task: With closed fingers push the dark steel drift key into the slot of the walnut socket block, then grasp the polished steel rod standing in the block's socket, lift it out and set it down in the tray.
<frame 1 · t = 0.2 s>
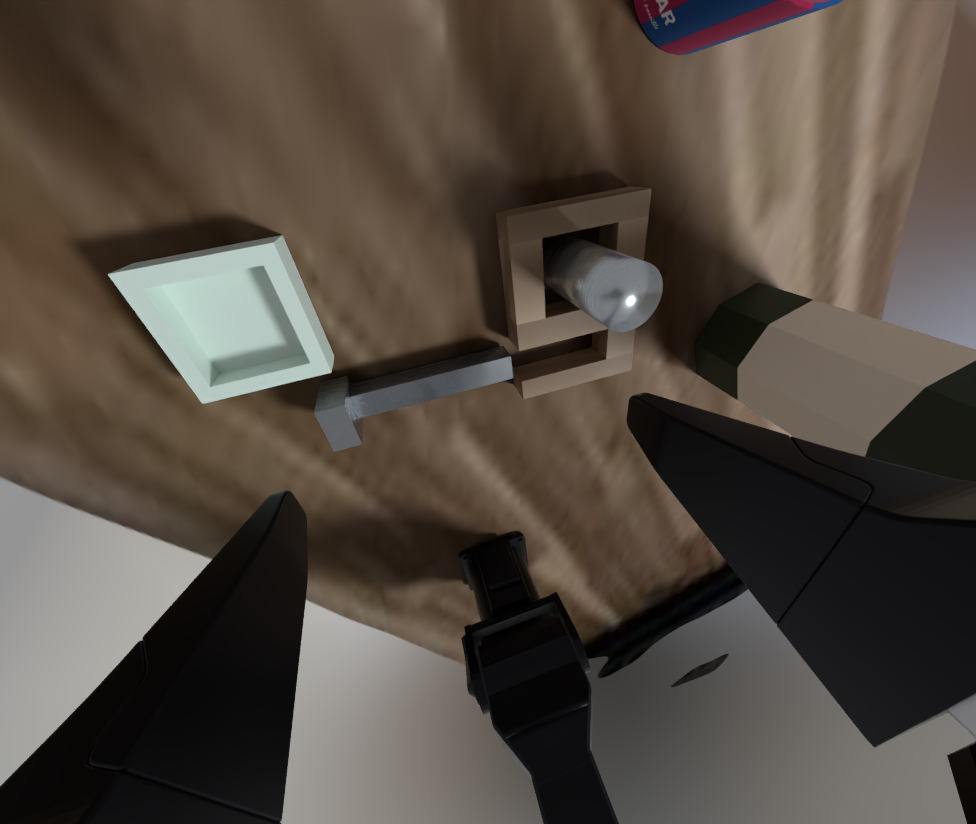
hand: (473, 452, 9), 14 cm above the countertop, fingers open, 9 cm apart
wine bottle: (736, 334, 29), on the countertop
polished steel rod: (564, 264, 22), resting in socket block
drift key: (423, 391, 22), point 2 cm above the countertop, slide at 0.0 cm
tray: (246, 315, 19), on the countertop
socket block: (565, 296, 23), on the countertop
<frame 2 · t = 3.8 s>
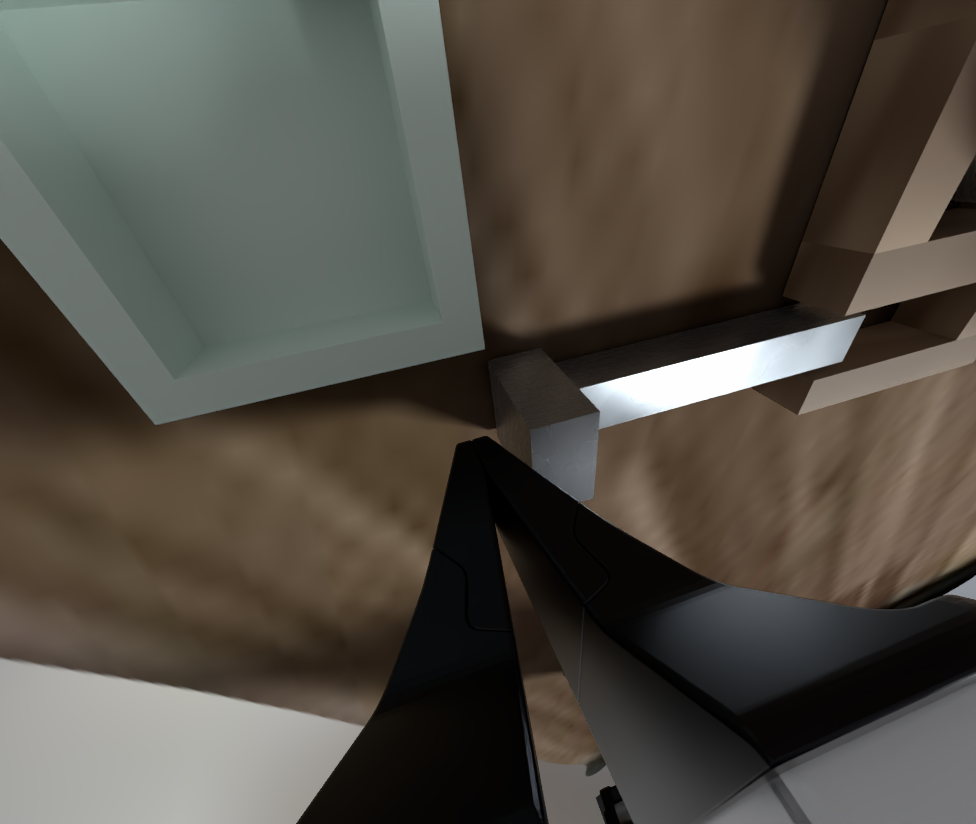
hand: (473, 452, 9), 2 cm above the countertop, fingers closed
polished steel rod: (946, 134, 11), resting in socket block
drift key: (697, 383, 11), point 2 cm above the countertop, slide at 1.7 cm, touching gripper
tray: (278, 192, 7), on the countertop
socket block: (908, 212, 12), on the countertop
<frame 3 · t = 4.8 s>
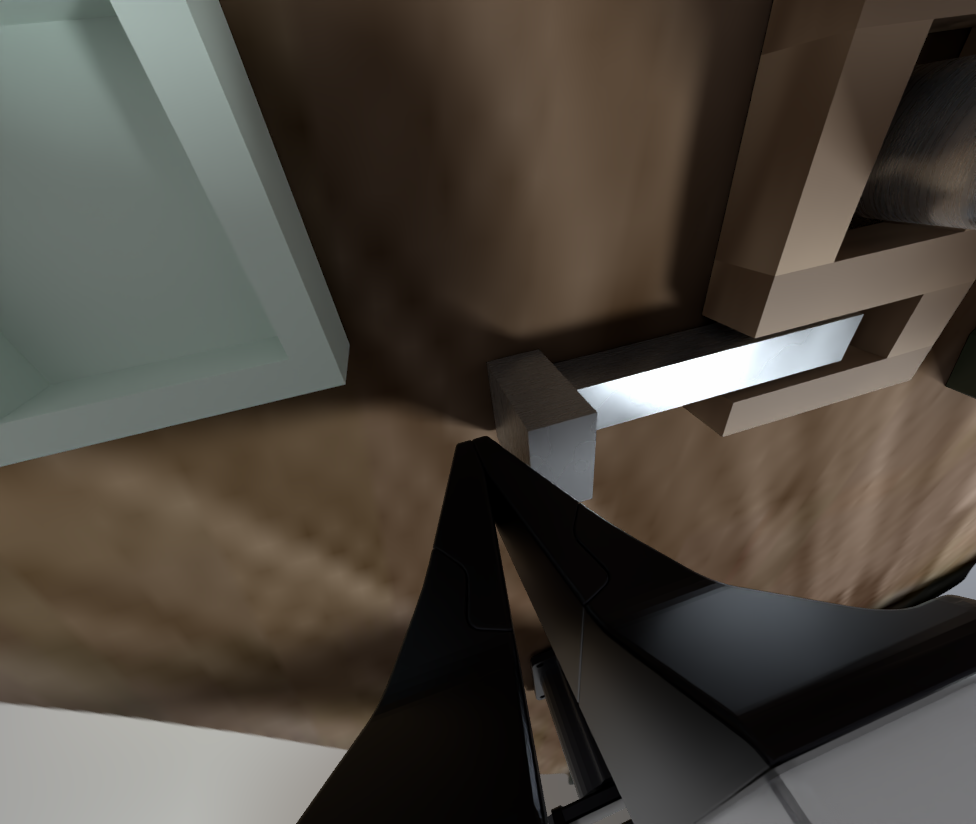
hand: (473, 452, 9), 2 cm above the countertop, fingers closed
polished steel rod: (858, 148, 10), resting in socket block
drift key: (695, 383, 11), point 2 cm above the countertop, slide at 4.7 cm, touching gripper
tray: (113, 225, 7), on the countertop
socket block: (829, 227, 11), on the countertop
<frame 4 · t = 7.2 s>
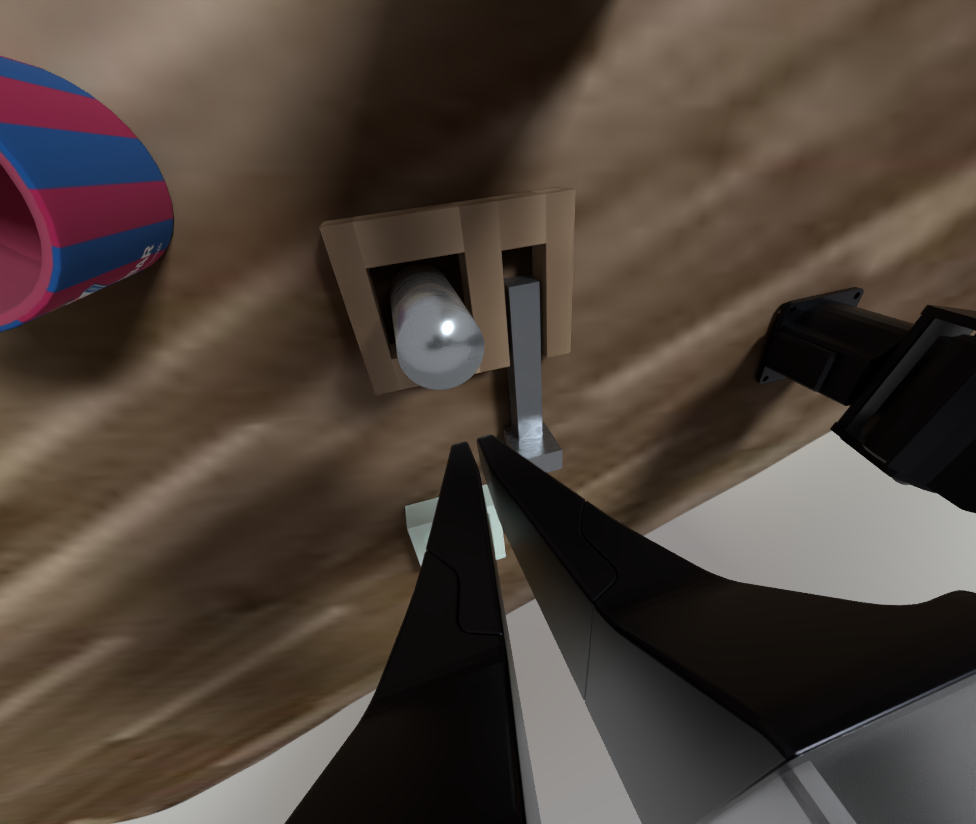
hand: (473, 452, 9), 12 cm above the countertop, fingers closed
mug: (15, 130, 13), on the countertop
polished steel rod: (421, 296, 19), resting in socket block
drift key: (529, 384, 21), point 2 cm above the countertop, slide at 4.7 cm
tray: (455, 522, 29), on the countertop
socket block: (459, 289, 19), on the countertop
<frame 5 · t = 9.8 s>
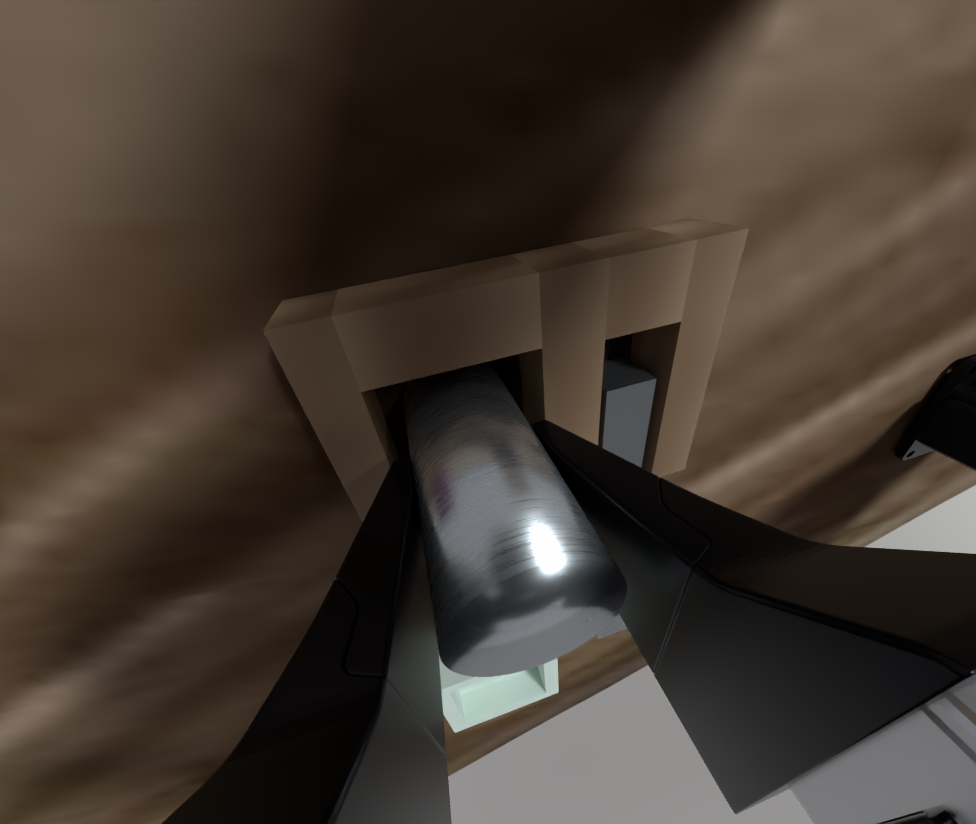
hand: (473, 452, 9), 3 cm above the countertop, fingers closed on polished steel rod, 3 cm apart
polished steel rod: (455, 401, 11), resting in socket block, touching gripper
drift key: (617, 513, 14), point 2 cm above the countertop, slide at 4.7 cm
tray: (492, 652, 22), on the countertop
socket block: (515, 386, 12), on the countertop
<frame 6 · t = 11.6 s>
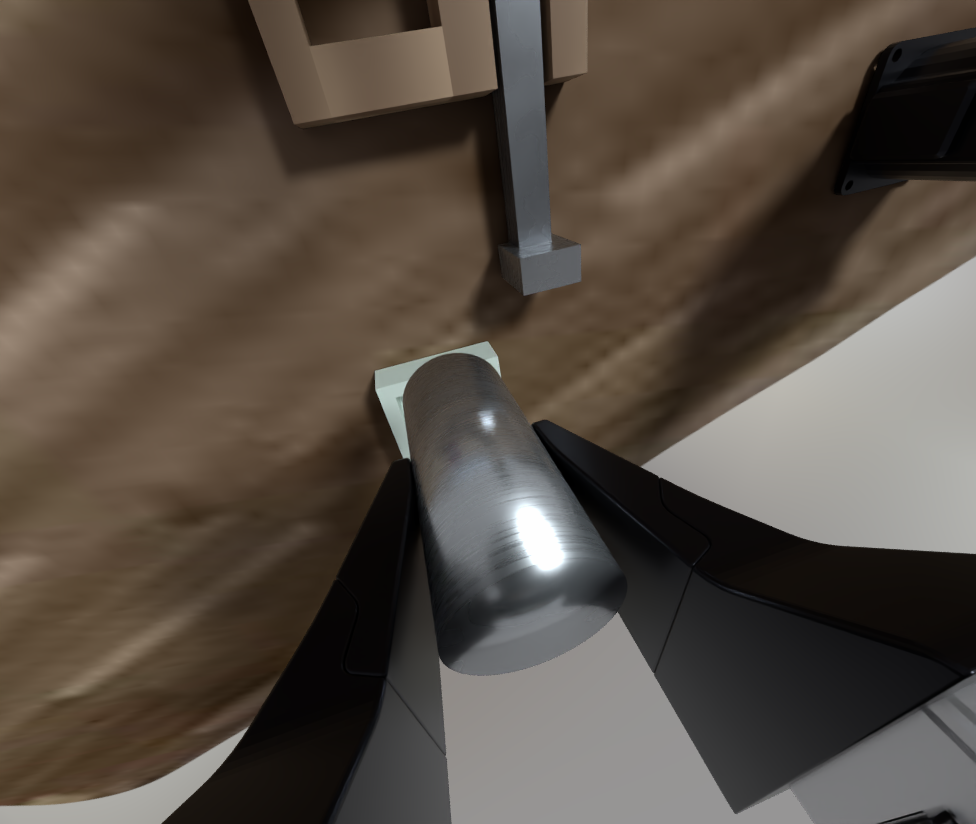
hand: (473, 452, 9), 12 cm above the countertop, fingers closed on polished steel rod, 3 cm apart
polished steel rod: (454, 399, 11), point 10 cm above the countertop, touching gripper
drift key: (528, 134, 15), point 2 cm above the countertop, slide at 4.7 cm
tray: (445, 402, 23), on the countertop
when the fingers open (4 cm above the countertop, at t = 13.6 s): polished steel rod drops 1 cm, resting on tray.
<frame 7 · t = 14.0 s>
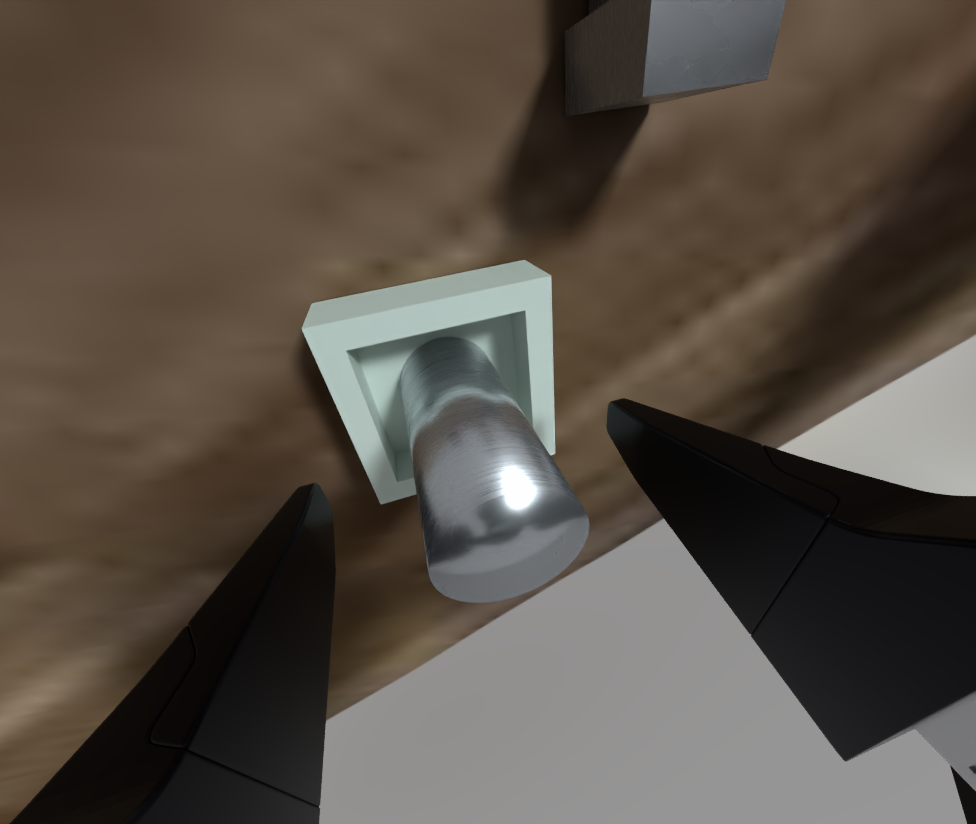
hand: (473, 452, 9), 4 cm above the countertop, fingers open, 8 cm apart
polished steel rod: (447, 380, 13), point 1 cm above the countertop, touching tray
tray: (443, 373, 13), on the countertop
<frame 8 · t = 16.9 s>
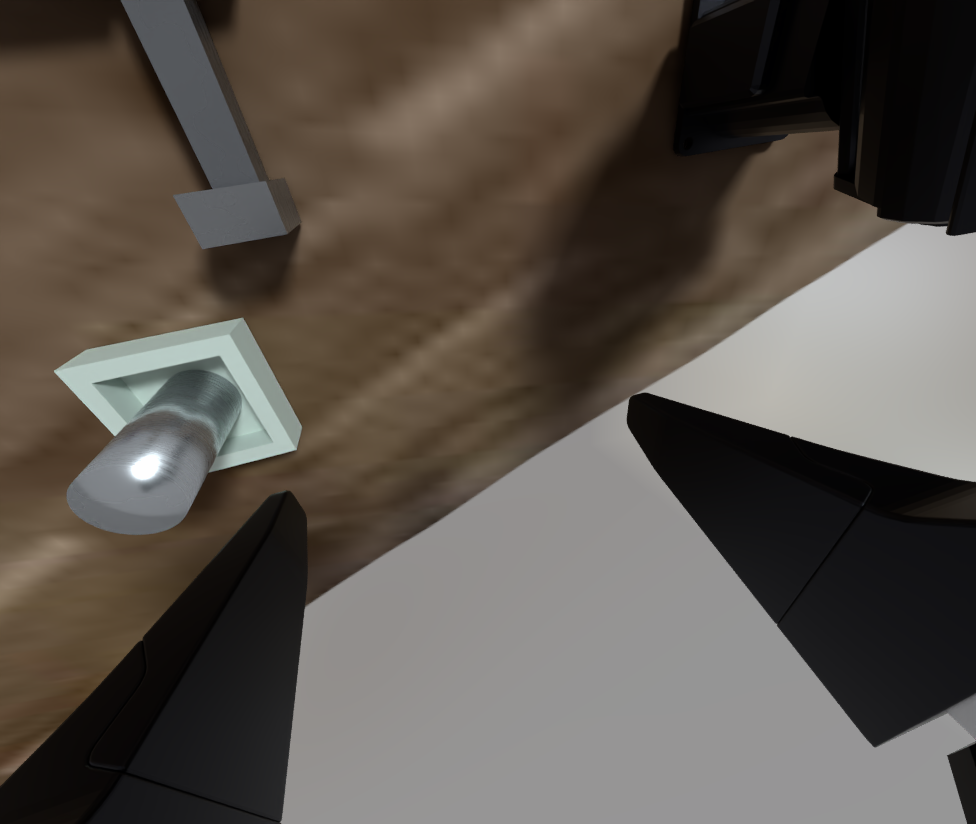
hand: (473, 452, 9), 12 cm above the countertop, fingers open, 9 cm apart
polished steel rod: (204, 398, 18), point 1 cm above the countertop, touching tray
drift key: (160, 20, 11), point 2 cm above the countertop, slide at 4.7 cm
tray: (208, 393, 19), on the countertop
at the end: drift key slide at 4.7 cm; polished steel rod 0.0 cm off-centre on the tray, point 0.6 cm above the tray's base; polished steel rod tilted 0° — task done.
